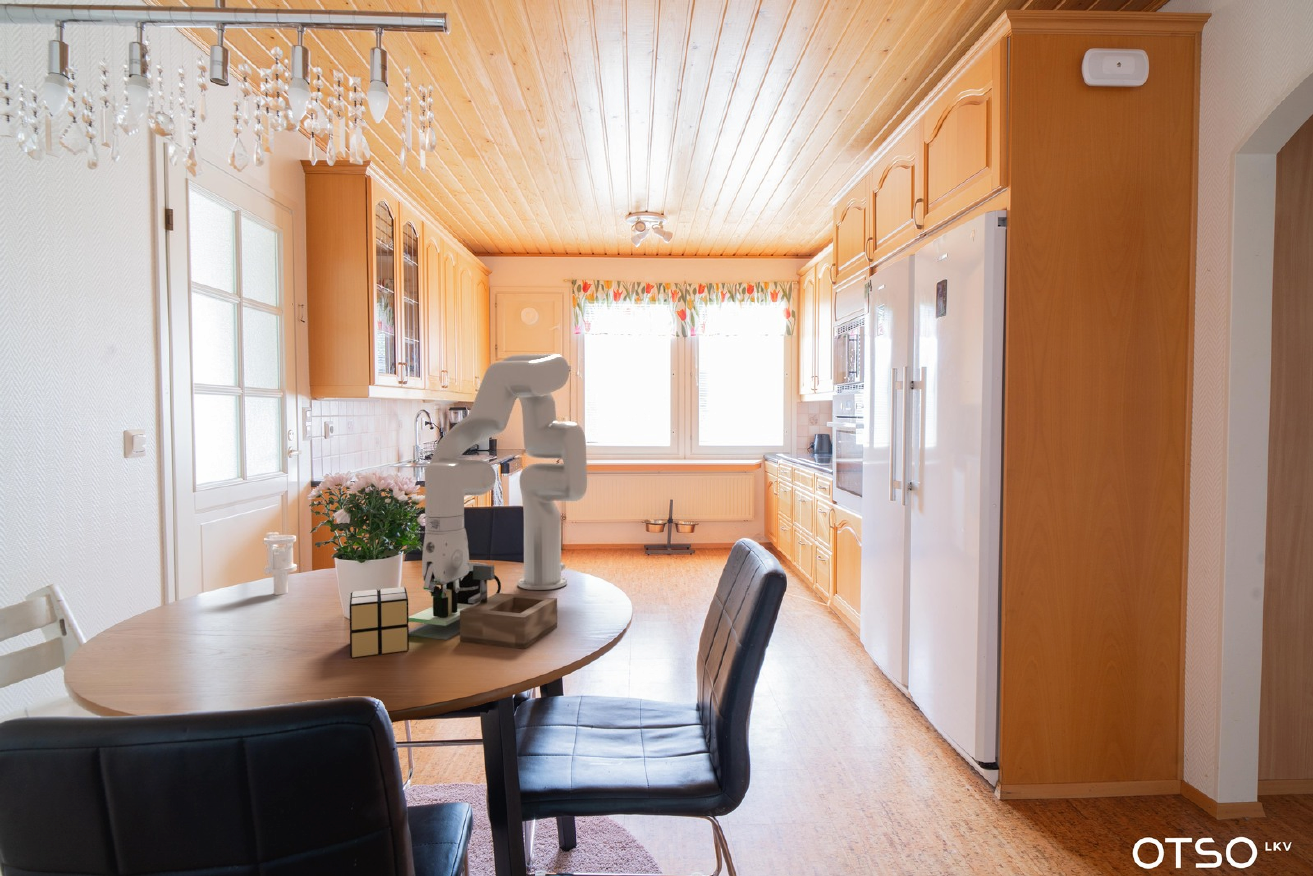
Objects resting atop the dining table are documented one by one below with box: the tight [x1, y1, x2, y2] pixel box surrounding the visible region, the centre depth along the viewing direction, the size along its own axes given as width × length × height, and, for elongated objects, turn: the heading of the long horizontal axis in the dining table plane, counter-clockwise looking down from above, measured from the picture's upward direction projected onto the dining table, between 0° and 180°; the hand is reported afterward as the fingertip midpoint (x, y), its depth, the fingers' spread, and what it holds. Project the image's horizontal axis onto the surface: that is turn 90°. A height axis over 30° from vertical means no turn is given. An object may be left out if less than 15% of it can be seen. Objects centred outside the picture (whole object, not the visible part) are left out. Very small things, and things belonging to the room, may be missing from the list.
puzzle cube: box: [348, 586, 410, 659], centre depth 128 cm, size 10×10×10 cm
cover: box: [408, 590, 471, 626], centre depth 139 cm, size 12×9×6 cm
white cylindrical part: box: [263, 531, 298, 596], centre depth 166 cm, size 7×7×15 cm
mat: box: [409, 619, 460, 641], centre depth 139 cm, size 13×10×1 cm
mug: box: [457, 561, 502, 605], centre depth 152 cm, size 12×9×10 cm
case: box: [459, 592, 558, 650], centre depth 135 cm, size 14×14×6 cm
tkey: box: [468, 564, 495, 603], centre depth 135 cm, size 4×6×7 cm
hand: (445, 613), depth 136 cm, fingers closed on cover, 2 cm apart
